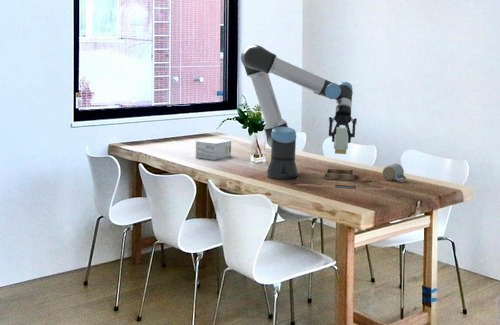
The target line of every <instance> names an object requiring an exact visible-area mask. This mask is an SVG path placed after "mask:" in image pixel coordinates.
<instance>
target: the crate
mask: <svg viewBox="0 0 500 325" xmlns="http://www.w3.org/2000/svg"><path fill="white" fill-rule="evenodd" d="M355 170H356V169H347V168H346V169H345V168H343V169H342V168H325V170H324V176H323V177H324V180H337V181H339V180H340V181H355V178H356V176H355V175H356V171H355Z"/></svg>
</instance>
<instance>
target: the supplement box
mask: <svg viewBox="0 0 500 325" xmlns="http://www.w3.org/2000/svg"><path fill="white" fill-rule="evenodd" d="M231 156H232V140H228V139H218V138H210V139H203V140H197V141H195V158H198V159H206V160H214V161H215V160H220V159H224V158H230V157H231Z"/></svg>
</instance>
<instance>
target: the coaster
mask: <svg viewBox="0 0 500 325" xmlns="http://www.w3.org/2000/svg"><path fill="white" fill-rule="evenodd" d="M334 188H336V189H337V188H338V189H350V190H351V189H353V190H354V189H355V190H356V186H355V185H345V184H344V185H342V184H334Z"/></svg>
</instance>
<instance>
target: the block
mask: <svg viewBox="0 0 500 325" xmlns="http://www.w3.org/2000/svg"><path fill="white" fill-rule="evenodd" d="M347 135H348V134H347V128H346V127H345V126H344V127H343V126H341V127H340V126H339V127H337V129H336V147H335V149H334V154H339V155H347V149H346V141H347Z"/></svg>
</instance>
